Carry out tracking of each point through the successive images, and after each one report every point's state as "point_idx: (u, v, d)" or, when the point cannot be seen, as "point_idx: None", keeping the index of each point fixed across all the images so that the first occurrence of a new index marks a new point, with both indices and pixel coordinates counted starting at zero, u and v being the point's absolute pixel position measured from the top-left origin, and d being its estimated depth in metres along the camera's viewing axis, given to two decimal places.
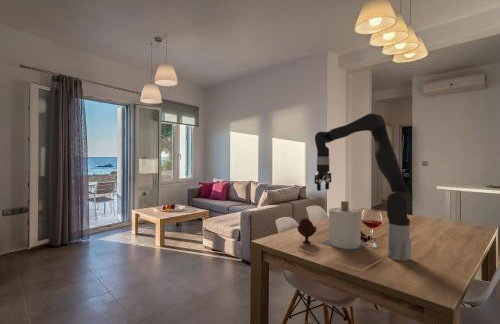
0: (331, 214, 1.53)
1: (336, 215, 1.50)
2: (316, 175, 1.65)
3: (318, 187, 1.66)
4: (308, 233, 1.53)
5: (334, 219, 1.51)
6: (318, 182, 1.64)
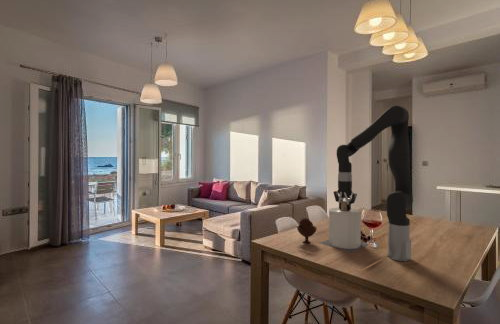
0: (331, 214, 1.53)
1: (336, 215, 1.50)
2: (355, 195, 1.50)
3: (350, 207, 1.53)
4: (308, 233, 1.53)
5: (334, 219, 1.51)
6: (353, 201, 1.52)
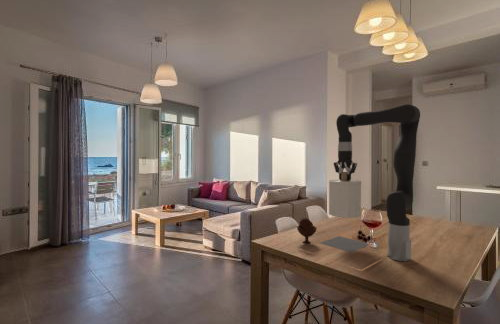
0: (331, 184, 1.53)
1: (336, 184, 1.49)
2: (355, 165, 1.50)
3: (350, 177, 1.52)
4: (308, 233, 1.53)
5: (334, 188, 1.50)
6: (353, 171, 1.52)
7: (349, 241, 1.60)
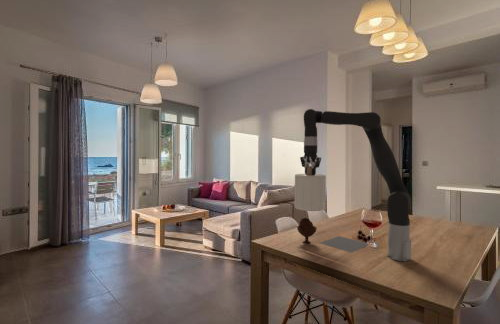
0: (296, 178, 1.55)
1: (300, 178, 1.52)
2: (319, 159, 1.52)
3: (315, 171, 1.55)
4: (308, 233, 1.53)
5: (299, 182, 1.53)
6: None
7: (349, 241, 1.60)
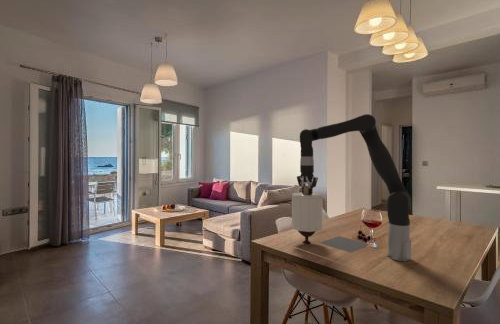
0: (293, 198, 1.55)
1: (297, 198, 1.52)
2: (316, 179, 1.52)
3: (312, 191, 1.55)
4: (308, 233, 1.53)
5: (296, 202, 1.53)
6: None
7: (349, 241, 1.60)
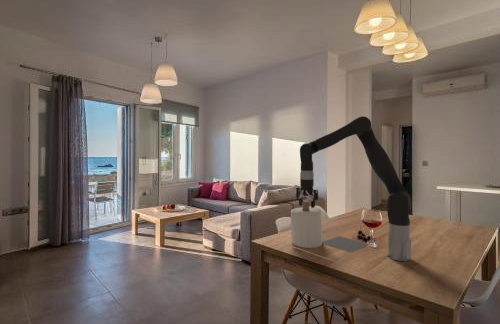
0: (292, 214, 1.55)
1: (296, 215, 1.52)
2: (316, 191, 1.52)
3: (314, 204, 1.54)
4: None
5: (295, 219, 1.53)
6: (317, 198, 1.53)
7: (349, 241, 1.60)
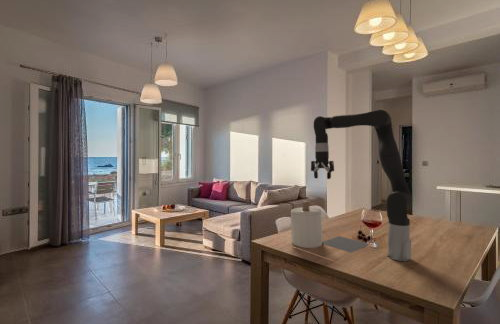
0: (292, 214, 1.55)
1: (296, 215, 1.52)
2: (332, 162, 1.55)
3: (330, 175, 1.57)
4: None
5: (295, 219, 1.53)
6: None
7: (349, 241, 1.60)
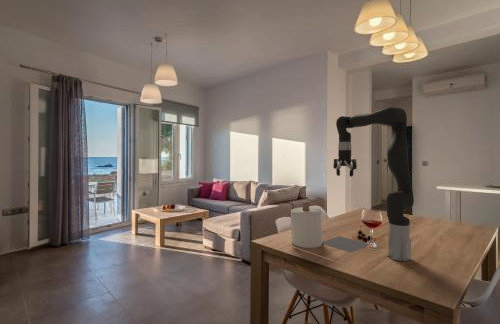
0: (292, 214, 1.55)
1: (296, 215, 1.52)
2: (355, 160, 1.61)
3: None
4: None
5: (295, 219, 1.53)
6: None
7: (349, 241, 1.60)
